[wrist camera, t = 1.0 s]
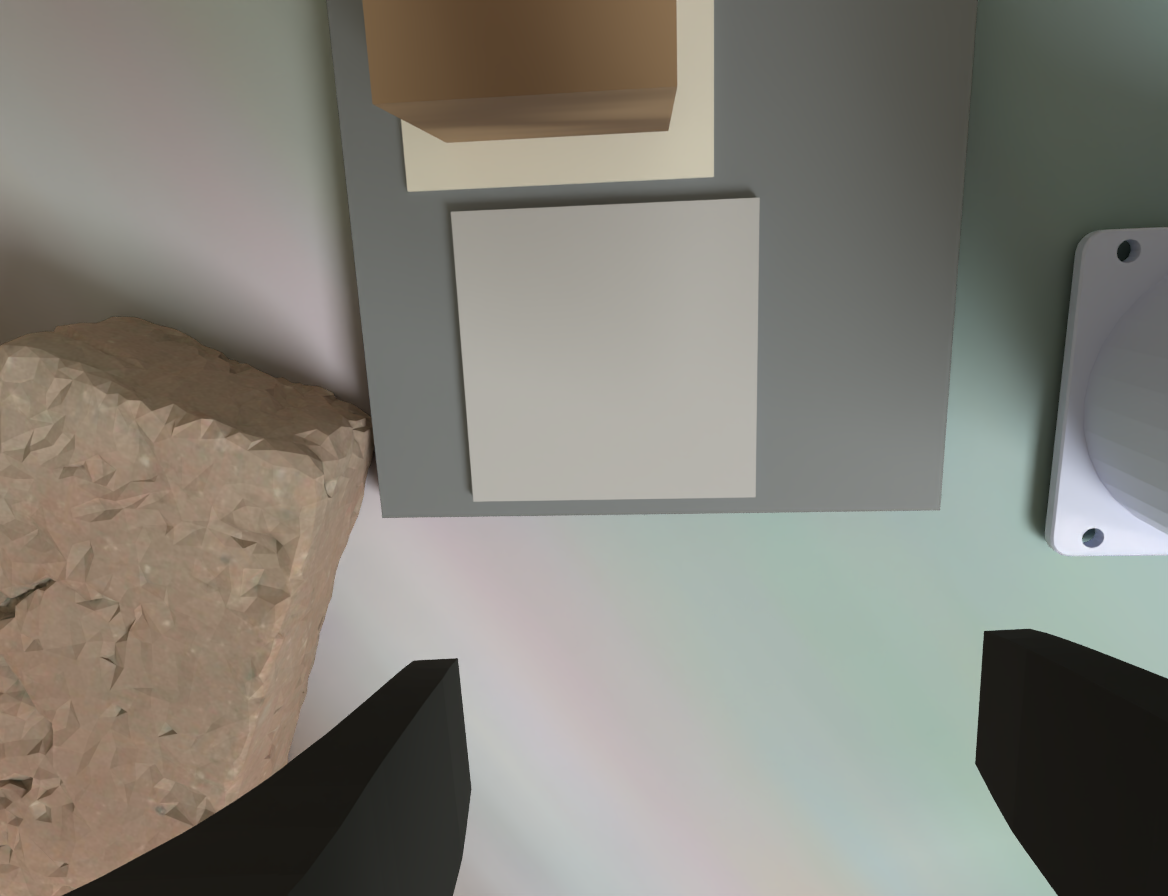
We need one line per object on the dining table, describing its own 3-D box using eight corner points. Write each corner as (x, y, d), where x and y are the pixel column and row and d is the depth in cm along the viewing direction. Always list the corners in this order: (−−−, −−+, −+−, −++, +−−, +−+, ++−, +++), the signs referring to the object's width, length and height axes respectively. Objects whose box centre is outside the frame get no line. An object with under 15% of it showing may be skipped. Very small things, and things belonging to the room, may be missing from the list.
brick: (103, 303, 21) (-46, 320, 17) (397, 409, 21) (329, 455, 17) (17, 790, 26) (-120, 909, 21) (261, 876, 26) (177, 1013, 21)
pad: (757, 198, 18) (760, 197, 18) (754, 493, 20) (755, 497, 19) (453, 212, 18) (450, 211, 18) (475, 497, 20) (473, 501, 20)
